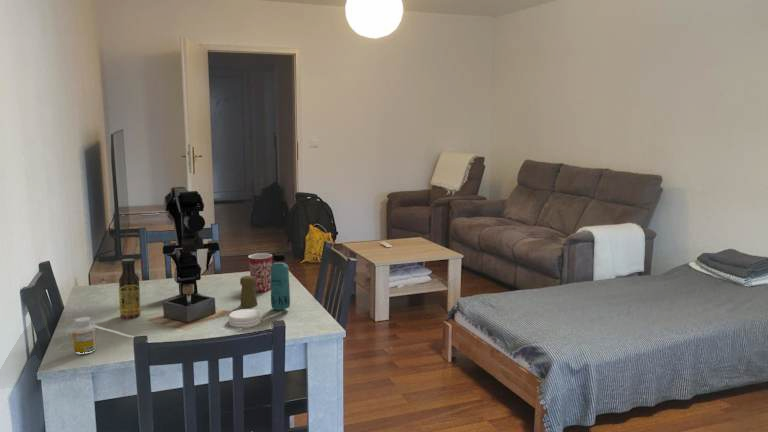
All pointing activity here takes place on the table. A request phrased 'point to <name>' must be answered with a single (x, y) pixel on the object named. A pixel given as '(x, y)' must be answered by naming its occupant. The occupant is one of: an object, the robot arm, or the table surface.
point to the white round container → (244, 318)
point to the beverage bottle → (279, 283)
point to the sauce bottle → (129, 291)
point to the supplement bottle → (84, 335)
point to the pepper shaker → (248, 292)
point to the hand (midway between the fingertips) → (193, 271)
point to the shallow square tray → (189, 308)
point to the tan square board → (184, 326)
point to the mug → (261, 271)
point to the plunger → (188, 292)
